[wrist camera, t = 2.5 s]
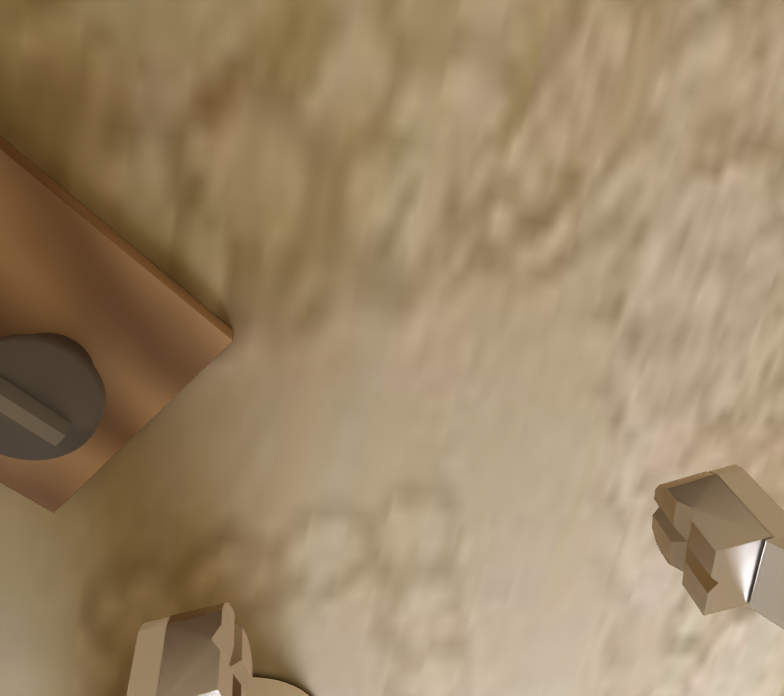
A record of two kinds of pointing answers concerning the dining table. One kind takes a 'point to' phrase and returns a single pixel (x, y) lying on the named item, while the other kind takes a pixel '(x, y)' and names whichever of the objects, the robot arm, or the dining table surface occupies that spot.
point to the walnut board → (93, 319)
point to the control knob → (47, 396)
